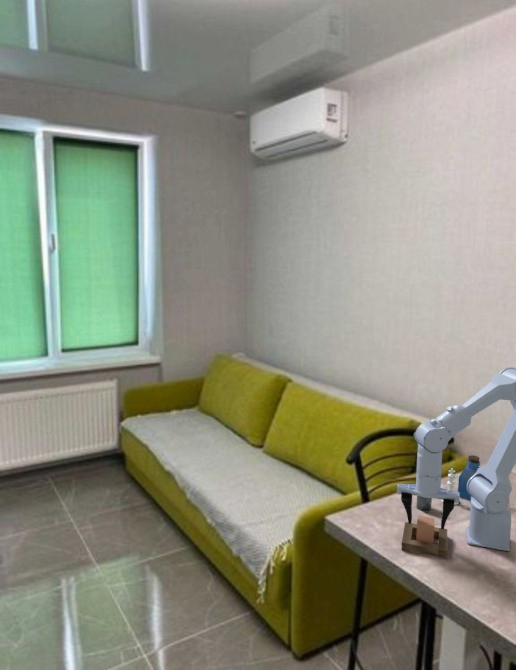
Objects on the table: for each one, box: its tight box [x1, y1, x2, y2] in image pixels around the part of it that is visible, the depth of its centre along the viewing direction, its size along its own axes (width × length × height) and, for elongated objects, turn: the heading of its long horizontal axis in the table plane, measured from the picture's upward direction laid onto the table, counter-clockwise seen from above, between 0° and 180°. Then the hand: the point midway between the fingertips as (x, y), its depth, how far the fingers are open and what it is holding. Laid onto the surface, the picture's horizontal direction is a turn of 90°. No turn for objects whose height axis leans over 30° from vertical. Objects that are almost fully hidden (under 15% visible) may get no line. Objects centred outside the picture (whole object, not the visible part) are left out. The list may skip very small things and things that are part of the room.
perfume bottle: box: [457, 455, 481, 501], centre depth 154 cm, size 6×6×12 cm
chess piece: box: [440, 467, 459, 506], centre depth 151 cm, size 5×5×10 cm
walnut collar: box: [400, 521, 448, 559], centre depth 129 cm, size 10×10×2 cm
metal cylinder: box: [415, 496, 433, 512], centre depth 147 cm, size 4×4×5 cm
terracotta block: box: [415, 515, 435, 544], centre depth 129 cm, size 4×4×6 cm
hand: (426, 524), depth 129 cm, fingers open, 7 cm apart
